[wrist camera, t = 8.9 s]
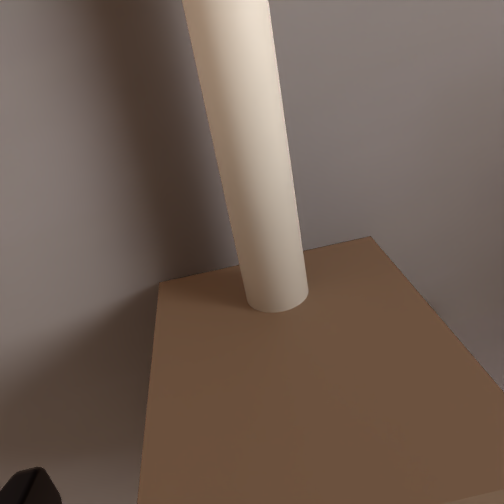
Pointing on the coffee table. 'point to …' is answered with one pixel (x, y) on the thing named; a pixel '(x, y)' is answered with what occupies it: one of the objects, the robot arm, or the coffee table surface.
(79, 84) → the coffee table surface
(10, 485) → the robot arm
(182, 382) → the uneven block dumbbell
